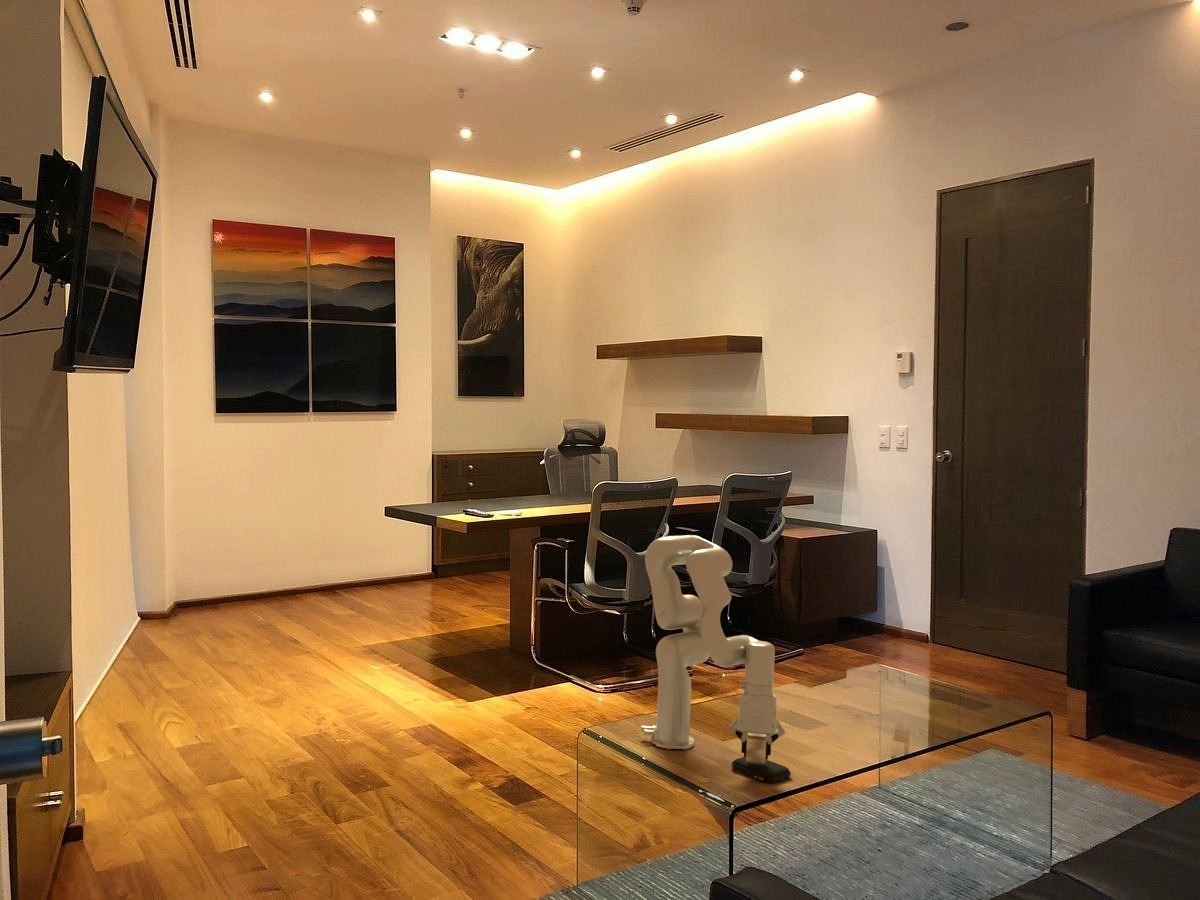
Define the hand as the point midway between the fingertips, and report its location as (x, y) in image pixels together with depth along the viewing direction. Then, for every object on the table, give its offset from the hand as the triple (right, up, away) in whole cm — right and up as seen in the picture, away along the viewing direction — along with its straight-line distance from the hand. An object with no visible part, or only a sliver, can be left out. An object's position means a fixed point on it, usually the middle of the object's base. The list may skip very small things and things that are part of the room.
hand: (755, 756), depth 250 cm
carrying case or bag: (+1, -6, +1) cm, 6 cm away
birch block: (0, -1, 0) cm, 1 cm away
